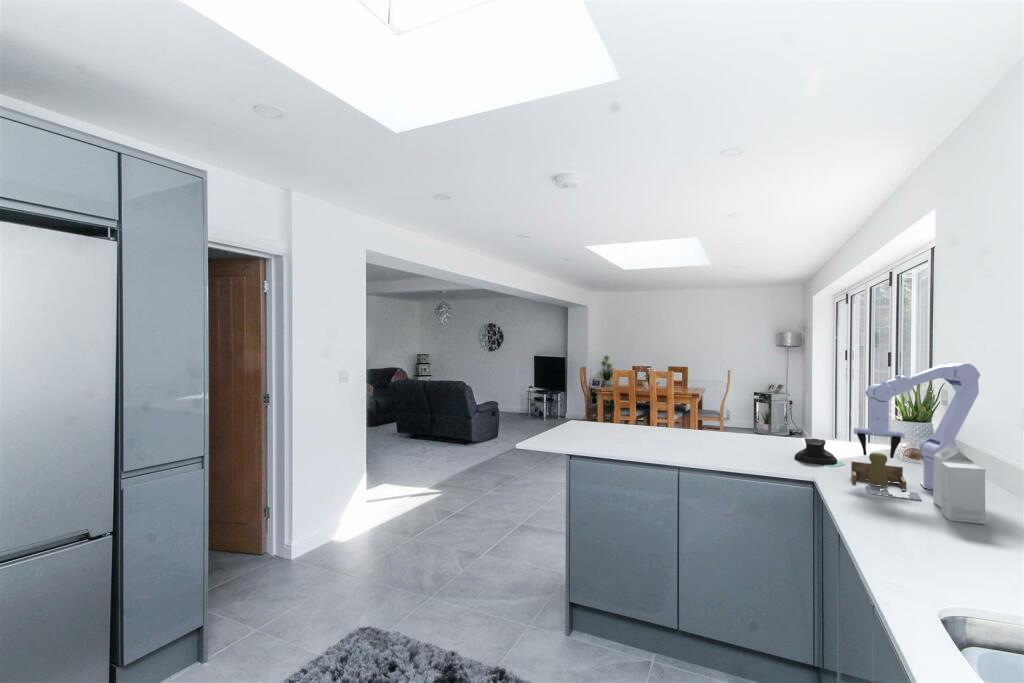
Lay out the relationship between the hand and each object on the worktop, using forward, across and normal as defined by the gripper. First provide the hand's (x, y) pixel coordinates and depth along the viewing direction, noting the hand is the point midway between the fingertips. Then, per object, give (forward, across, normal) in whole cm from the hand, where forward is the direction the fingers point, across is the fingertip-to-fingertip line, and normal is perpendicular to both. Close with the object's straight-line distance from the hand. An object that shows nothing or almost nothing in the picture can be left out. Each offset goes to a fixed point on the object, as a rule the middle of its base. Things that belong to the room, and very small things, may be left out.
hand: (878, 456), depth 176 cm
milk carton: (+10, +17, -18) cm, 27 cm away
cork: (+10, 0, 0) cm, 10 cm away
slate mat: (+10, +3, -11) cm, 15 cm away
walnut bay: (+10, 0, 0) cm, 10 cm away
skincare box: (+10, +17, -30) cm, 36 cm away
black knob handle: (+10, -19, +29) cm, 36 cm away
